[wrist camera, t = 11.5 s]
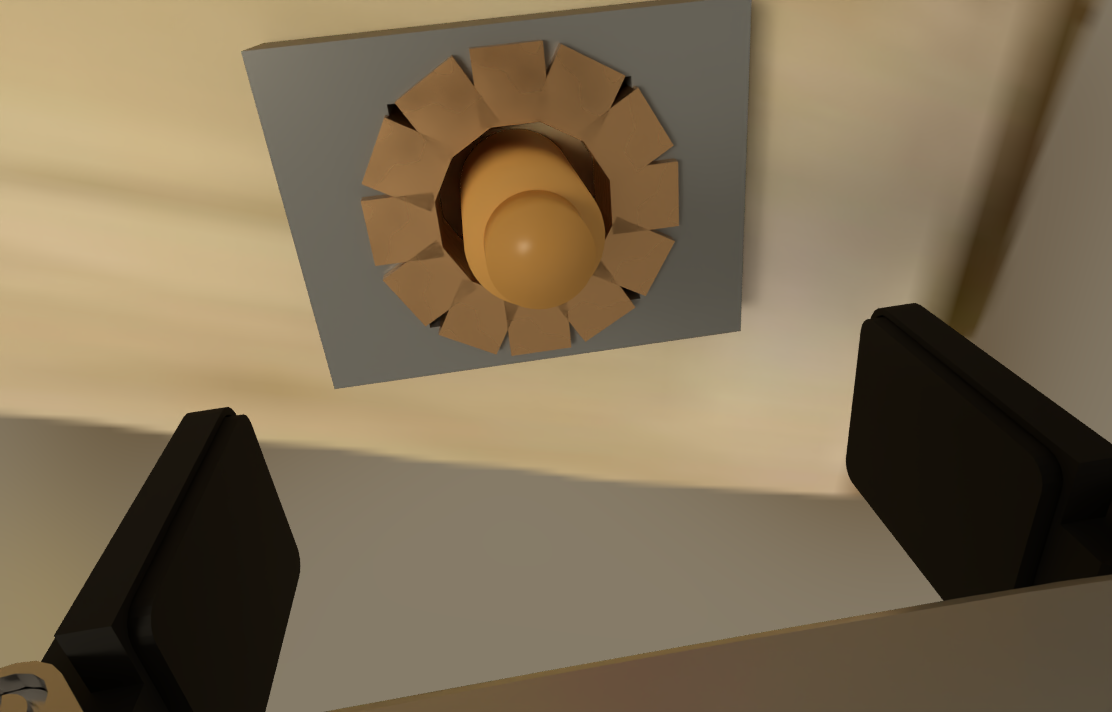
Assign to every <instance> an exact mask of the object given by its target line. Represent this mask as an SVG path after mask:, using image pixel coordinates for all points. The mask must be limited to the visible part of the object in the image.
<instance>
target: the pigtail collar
mask: <svg viewBox="0 0 1112 712" xmlns="http://www.w3.org/2000/svg"><path fill="white" fill-rule="evenodd" d="M469 53H470V60H471V67H472V74H473V82H474V84H473V83H472V81H471V80H470V79H469V77H468V76H467V75H466V73H465V72H464V70H463V69H462V68H461V66H460V65H459V64H458V62H457V61H456V60H455V58H454V57H453V55H451V56H450V57H448V58H447V59H446V60H445V61H443V62H442V63H441V64H440V65H439V66H437V67H436V68H435V69H434V70H432V71H431V72H430V73H429V74H427V75H426V76H425V77H424V78H422V79H421V80H420V81H419V82H417V83H416V84H415V85H414V86H413V87H411V88H410V89H409V90H408V91H406V92H405V93H404V94H403V95H401V96H400V97H399V98H398V99H396V100H395V104H394V106H393V108H392V110H391V113H390V115H389V116H387V115H385V117H384V120H383V123H382V125H381V128H380V131H379V134H378V137H377V140H376V143H375V146H374V149H373V152H372V155H371V158H370V161H369V164H368V166H367V169H366V172H365V175H364V178H363V181H362V185H365V186H367V187H370V188H372V189H375V190H377V191H380V192H383V193H385V194H384V195H376V196H368V197H362V199H361V205H362V210H363V214H364V219H365V223H366V227H367V232H368V236H369V241H370V245H371V250H372V254H373V259H374V263H375V266H379V265H387V264H395V263H399V264H398V265H397V266H395V267H394V268H393V269H391V270H390V271H389V272H387V273H386V274H385V275H384V277H383V281H384V282H385V283H386V284H387V285H388V286H389V288H390V289H391V290H392V291H393V292H394V293H395V294H396V295H397V296H398V297H399V298H400V299H401V300H402V302H403V303H404V304H405V305H406V306H407V307H408V308H409V309H410V310H411V311H412V312H413V313H414V315H415V316H416V317H417V318H418V319H419V320H420V321H421V322H422V323H423V324H424V325H425V326H427V325H428V324H430V323H431V322H433V321H434V320H435V319H437V318H438V317H439V316H440V327H439V335H440V336H443V337H446V338H449V339H452V340H455V341H458V342H461V343H464V344H467V345H470V346H473V347H476V348H479V349H481V350H484V351H487V352H490V353H493V354H496V355H497V352H498V350H499V348H500V346H501V344H502V342H503V339H504V337H505V335H506V333H507V331H508V335H509V342H510V350H511V356H515V355H522V354H529V353H536V352H543V351H550V350H557V349H564V348H571V338H570V327H569V322H570V323H571V325H572V326H573V327H574V328H575V330H576V331H577V332H578V333H579V335H580V336H581V337H582V338H583V340H584V341H585V342H586V341H588V340H589V339H590V338H592V337H593V336H595V335H596V334H598V333H599V332H601V331H602V330H603V329H605V328H606V327H608V326H609V325H611V324H612V323H614V322H615V321H617V320H618V319H619V318H621V317H622V316H624V315H625V314H627V313H628V312H630V311H631V310H632V309H634V308H635V306H634V304H633V302H632V301H631V299H630V297H629V296H628V294H627V292H626V290H625V288H626V289H629V290H632V291H634V292H637V293H639V294H642V295H644V296H646V295H647V293H648V291H649V289H650V287H651V285H652V283H653V282H654V280H655V278H656V276H657V274H658V272H659V270H660V268H661V267H662V265H663V263H664V261H665V259H666V257H667V255H668V254H669V252H670V250H671V248H672V246H673V244H674V242H675V241H674V239H673V238H672V237H671V236H668V235H666V234H663V233H661V232H659V231H656V230H654V229H660V228H667V227H675V226H679V186H678V161H677V160H676V159H675V158H672V159H664V160H656V161H653V160H655V159H656V158H657V157H659V156H660V155H661V154H663V153H664V152H666V151H667V150H668V149H670V148H671V147H672V146H674V145H673V143H672V142H671V140H670V139H669V137H668V135H667V134H666V132H665V130H664V129H663V127H662V126H661V124H660V122H659V121H658V119H657V117H656V116H655V114H654V112H653V111H652V109H651V108H650V106H649V104H648V103H647V101H646V99H645V98H644V96H643V94H642V93H641V91H640V90H639V88H638V87H636V86H633V87H630V86H628V85H627V84H625V83H623V80H624V78H625V75H623V74H621V73H619V72H617V71H615V70H613V69H611V68H609V67H607V66H605V65H603V64H601V63H599V62H597V61H595V60H593V59H591V58H589V57H587V56H585V55H583V54H581V53H579V52H577V51H575V50H573V49H571V48H569V47H567V46H565V45H563V44H561V43H559V44H558V46H557V48H556V51H555V53H554V56H553V58H552V60H551V63H550V65H549V68H548V70H547V72H546V68H545V57H544V46H543V40H532V41H523V42H514V43H505V44H496V45H487V46H478V47H469ZM533 122H542V123H544V124H546V125H548V126H550V127H553V128H555V129H557V130H559V131H561V132H564V133H566V134H568V135H570V136H572V137H575V138H577V139H579V140H581V142H582V143H583V145H584V146H585V148H586V149H587V151H588V152H589V153H590V155H591V156H592V161H593V176H594V191H595V199H594V200H595V202H596V203H597V205H598V207H599V209H600V212H601V214H602V218H603V221H604V227H605V244H604V250H603V254H602V258H601V260H600V262H599V265H598V267H597V268H596V270H595V272H594V274H593V275H592V276H591V278H590V279H589V281H588V283H587V284H586V286H585V287H584V288H583V289H582V291H581V292H580V293H579V294H578V295H576V296H575V297H574V298H573V299H571V300H569V301H568V302H566V303H564V304H562V305H559V306H556V307H553V308H548V309H530V308H525V307H521V306H519V305H516V304H513V303H510V302H507V301H504V300H502V299H500V298H498V297H496V296H495V295H493V294H492V293H490V292H489V291H488V290H487V289H485V288H484V287H483V286H482V285H481V284H480V283H479V281H478V280H477V279H476V277H475V276H474V274H473V272H472V271H471V269H470V267H469V264H468V262H467V259H466V255H465V250H464V242H463V241H462V240H461V238H460V237H459V236H458V235H457V234H456V232H455V231H454V230H453V229H452V228H451V226H450V225H449V224H448V223H447V221H446V220H445V219H444V218H443V212H442V206H441V201H440V195H439V190H440V187H441V185H442V182H443V180H444V177H445V174H446V172H447V169H448V167H449V164H450V161H451V159H452V157H454V156H455V155H456V154H457V153H459V152H460V151H461V150H463V149H464V148H465V147H466V146H468V145H469V144H470V143H472V142H473V141H474V140H475V139H477V138H478V137H479V136H481V135H482V134H483V133H484V132H486V131H487V130H488V129H490V128H491V127H500V126H508V125H517V124H525V123H533Z"/></svg>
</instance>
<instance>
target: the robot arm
mask: <svg viewBox="0 0 1112 712" xmlns="http://www.w3.org/2000/svg"><path fill="white" fill-rule="evenodd" d="M846 467H847V472H848V475H849V477H850V480H851V481H852V483H853V484H854V486H855V487H856V488H857V489H858V491H859V492H860V493H861V495H862V496H863V497H864V498H865V500H866V501H867V502H868V504H869V505H870V506H871V507H872V509H873V510H874V511H875V513H876V514H877V515H878V517H879V518H880V519H881V520H882V522H883V523H884V524H885V526H886V527H887V528H888V529H889V531H890V532H891V533H892V535H893V536H894V537H895V539H896V540H897V541H898V542H899V544H900V545H901V546H902V547H903V549H904V550H905V551H906V553H907V554H908V555H909V557H910V558H911V559H912V561H913V562H914V563H915V564H916V566H917V567H918V568H919V570H920V571H921V572H922V573H923V575H924V576H925V577H926V579H927V580H928V581H929V582H930V584H931V585H932V586H933V588H934V589H935V590H936V592H937V593H938V594H939V595H940V597H941V598H942V599H943V601H940V602H934V603H929V604H923V605H917V606H912V607H906V608H900V609H894V610H888V611H882V612H876V613H870V614H865V615H859V616H853V617H848V618H841V619H836V620H830V621H824V622H818V623H812V624H807V625H801V626H795V627H789V628H783V629H778V630H772V631H767V632H761V633H755V634H750V635H744V636H738V637H733V638H727V639H721V640H716V641H711V642H705V643H699V644H693V645H688V646H682V647H677V648H671V649H665V650H659V651H654V652H649V653H643V654H637V655H632V656H627V657H621V658H615V659H609V660H604V661H599V662H593V663H587V664H581V665H576V666H570V667H565V668H559V669H553V670H548V671H542V672H537V673H532V674H527V675H521V676H515V677H510V678H505V679H499V680H494V681H488V682H483V683H477V684H472V685H466V686H461V687H456V688H450V689H445V690H439V691H434V692H428V693H423V694H418V695H413V696H407V697H401V698H396V699H391V700H385V701H380V702H375V703H369V704H363V705H358V706H353V707H347V708H342V709H336V710H331V711H326V712H1112V444H1111V443H1110V442H1108V441H1107V440H1106V439H1104V438H1103V437H1101V436H1100V435H1098V434H1097V433H1096V432H1094V431H1093V430H1091V429H1090V428H1089V427H1088V426H1086V425H1085V424H1083V423H1082V422H1080V421H1079V420H1078V419H1077V418H1075V417H1074V416H1072V415H1071V414H1070V413H1068V412H1067V411H1065V410H1064V409H1063V408H1061V407H1060V406H1058V405H1057V404H1056V403H1054V402H1053V401H1052V400H1050V399H1049V398H1048V397H1046V396H1045V395H1044V394H1042V393H1041V392H1039V391H1038V390H1037V389H1035V388H1034V387H1032V386H1031V385H1030V384H1028V383H1027V382H1026V381H1024V380H1023V379H1021V378H1020V377H1019V376H1017V375H1016V374H1014V373H1013V372H1012V371H1010V370H1009V369H1008V368H1006V367H1005V366H1004V365H1002V364H1001V363H999V362H998V361H997V360H995V359H994V358H993V357H991V356H990V355H988V354H987V353H986V352H984V351H983V350H981V349H980V348H979V347H977V346H976V345H975V344H973V343H972V342H970V341H969V340H968V339H966V338H965V337H964V336H962V335H961V334H959V333H958V332H957V331H955V330H954V329H953V328H951V327H950V326H948V325H947V324H946V323H944V322H943V321H942V320H940V319H939V318H937V317H936V316H935V315H933V314H932V313H931V312H929V311H928V310H926V309H925V308H924V307H922V306H921V305H919V304H917V303H911V304H904V305H898V306H891V307H885V308H878V309H877V310H875V311H874V313H873V314H872V316H871V319H867V320H865V321H864V323H863V324H862V328H861V333H860V342H859V351H858V359H857V368H856V376H855V385H854V394H853V402H852V411H851V419H850V428H849V437H848V445H847V454H846ZM299 574H300V557H299V552H298V548H297V545H296V543H295V540H294V538H293V535H292V532H291V529H290V527H289V524H288V521H287V518H286V516H285V513H284V510H283V508H282V505H281V502H280V500H279V497H278V494H277V492H276V489H275V486H274V484H273V481H272V478H271V475H270V473H269V470H268V467H267V465H266V462H265V459H264V457H263V454H262V451H261V448H260V446H259V443H258V440H257V438H256V435H255V432H254V430H253V427H252V424H251V422H250V420H249V418H248V417H247V416H246V415H244V414H243V415H236V413H235V412H234V411H233V410H232V409H231V408H229V407H225V408H218V409H211V410H205V411H198V412H192V413H187V414H186V415H185V416H184V417H183V419H182V421H181V423H180V424H179V426H178V428H177V429H176V431H175V433H174V434H173V436H172V438H171V439H170V441H169V443H168V445H167V446H166V448H165V449H164V451H163V453H162V455H161V456H160V458H159V460H158V461H157V463H156V465H155V467H154V468H153V470H152V472H151V473H150V475H149V477H148V478H147V480H146V482H145V484H144V485H143V487H142V488H141V490H140V492H139V494H138V495H137V497H136V498H135V500H134V502H133V503H132V505H131V507H130V508H129V510H128V512H127V514H126V515H125V517H124V519H123V520H122V522H121V524H120V525H119V527H118V529H117V530H116V532H115V534H114V535H113V537H112V539H111V540H110V542H109V544H108V546H107V547H106V549H105V551H104V553H103V554H102V556H101V557H100V559H99V561H98V562H97V564H96V566H95V568H94V569H93V571H92V572H91V574H90V576H89V578H88V579H87V581H86V583H85V584H84V587H83V588H82V589H81V591H80V593H79V594H78V596H77V598H76V600H75V601H74V603H73V605H72V606H71V608H70V610H69V611H68V613H67V615H66V616H65V618H64V620H63V621H62V623H61V625H60V627H59V628H58V630H57V631H56V633H55V635H54V637H55V639H54V641H53V642H52V644H51V646H50V647H49V649H48V651H47V652H46V654H45V656H44V658H43V659H42V661H41V662H39V661H30V662H21V663H15V664H11V665H8V666H5V667H2V668H0V712H265V711H266V707H267V703H268V699H269V695H270V691H271V687H272V683H273V679H274V675H275V671H276V667H277V663H278V659H279V655H280V651H281V647H282V643H283V639H284V635H285V631H286V627H287V623H288V619H289V615H290V611H291V607H292V602H293V598H294V595H295V591H296V587H297V583H298V579H299Z"/></svg>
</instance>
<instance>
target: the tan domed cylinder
mask: <svg viewBox="0 0 1112 712" xmlns="http://www.w3.org/2000/svg"><path fill="white" fill-rule="evenodd" d="M460 200H461V213H462V226H463V238H464V250H465V255H466V259H467V262H468V264H469V267H470V269H471V271H472V272H473V274H474V276H475V277H476V279H477V280H478V281H479V283H480V284H481V285H482V286H483V287H484V288H485V289H487V290H488V291H489V292H490V293H492V294H493V295H495V296H496V297H498V298H500V299H502V300H504V301H507V302H510V303H513V304H516V305H519V306H521V307H525V308H530V309H548V308H553V307H556V306H559V305H562V304H564V303H566V302H568V301H569V300H571V299H573V298H574V297H575V296H576V295H578V294H579V293H580V292H581V291H582V289H583V288H584V287H585V286H586V284H587V283H588V281H589V279H590V278H591V276H592V275H593V274H594V272H595V270H596V268H597V267H598V265H599V262H600V260H601V258H602V254H603V250H604V244H605V227H604V221H603V218H602V214H601V212H600V209H599V207H598V205H597V203H596V202H595V200H594V198H593V197H592V195H591V194H590V192H589V191H588V189H587V188H586V187H585V185H584V184H583V182H582V181H581V179H580V178H579V176H578V175H577V173H576V172H575V170H574V169H573V167H572V166H571V164H570V163H569V161H568V160H567V158H566V157H565V155H564V154H563V152H562V151H561V150H560V149H559V148H558V146H557V145H555V144H554V143H553V142H552V141H551V140H549V139H548V138H547V137H545V136H543V135H541V134H539V133H536V132H533V131H529V130H524V129H509V130H504V131H500V132H497V133H495V134H493V135H491V136H489V137H487V138H485V139H484V140H483V141H481V142H480V143H479V144H478V145H477V146H476V147H475V148H474V149H473V150H472V151H471V153H470V154H469V156H468V157H467V159H466V161H465V163H464V165H463V168H462V171H461V176H460Z"/></svg>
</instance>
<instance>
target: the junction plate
mask: <svg viewBox="0 0 1112 712" xmlns="http://www.w3.org/2000/svg"><path fill="white" fill-rule="evenodd" d="M751 1H752V0H655V1H646V2H636V3H627V4H618V5H609V6H600V7H591V8H581V9H572V10H563V11H554V12H545V13H536V14H527V15H517V16H508V17H499V18H490V19H481V20H472V21H462V22H453V23H444V24H435V25H426V26H417V27H407V28H398V29H389V30H380V31H371V32H362V33H353V34H343V35H334V36H325V37H316V38H307V39H298V40H288V41H279V42H270V43H263V44H260V45H257V46H254V47H252V48H249V49H246V50H243V51H241V53H242V57H243V60H244V64H245V68H246V71H247V75H248V78H249V82H250V86H251V89H252V93H253V96H254V100H255V104H256V107H257V111H258V114H259V118H260V122H261V125H262V129H263V132H264V136H265V140H266V143H267V147H268V150H269V154H270V158H271V161H272V165H273V168H274V172H275V176H276V179H277V183H278V186H279V190H280V194H281V197H282V201H283V204H284V208H285V212H286V215H287V219H288V223H289V226H290V230H291V233H292V237H293V241H294V244H295V248H296V251H297V255H298V259H299V262H300V266H301V269H302V273H303V277H304V280H305V284H306V287H307V291H308V295H309V298H310V302H311V305H312V309H313V313H314V316H315V320H316V323H317V327H318V331H319V334H320V338H321V341H322V345H323V349H324V352H325V356H326V359H327V363H328V367H329V370H330V374H331V377H332V381H333V385H334V388H335V389H338V388H345V387H352V386H359V385H366V384H373V383H380V382H387V381H394V380H401V379H408V378H415V377H422V376H429V375H436V374H443V373H450V372H457V371H464V370H471V369H478V368H485V367H492V366H499V365H506V364H513V363H520V362H527V361H534V360H541V359H548V358H555V357H562V356H569V355H576V354H583V353H590V352H597V351H604V350H611V349H618V348H625V347H632V346H639V345H645V344H652V343H659V342H666V341H673V340H680V339H687V338H694V337H701V336H708V335H715V334H722V333H729V332H736V331H741V302H742V272H743V242H744V212H745V182H746V152H747V122H748V92H749V61H750V31H751ZM532 40H543V46H544V57H545V68H546V72H547V70H548V68H549V65H550V63H551V60H552V58H553V56H554V53H555V51H556V48H557V46H558V44H559V43H561V44H563V45H565V46H567V47H569V48H571V49H573V50H575V51H577V52H579V53H581V54H583V55H585V56H587V57H589V58H591V59H593V60H595V61H597V62H599V63H601V64H603V65H605V66H607V67H609V68H611V69H613V70H615V71H617V72H619V73H621V74H623V75H625V78H624V80H623V83H625V84H627V85H628V86H630V87H633V86H636V87H638V88H639V90H640V91H641V93H642V94H643V96H644V98H645V99H646V101H647V103H648V104H649V106H650V108H651V109H652V111H653V112H654V114H655V116H656V117H657V119H658V121H659V122H660V124H661V126H662V127H663V129H664V130H665V132H666V134H667V135H668V137H669V139H670V140H671V142H672V143H673V145H674V146H672V147H671V148H670V149H668V150H667V151H666V152H664V153H663V154H661V155H660V156H659V157H657V158H656V159H655V160H653V161H656V160H664V159H672V158H675V159H676V160H677V161H678V186H679V226H675V227H667V228H660V229H654V230H656V231H659V232H661V233H663V234H666V235H668V236H671V237H672V238H673V239H674V241H675V242H674V244H673V246H672V248H671V250H670V252H669V254H668V255H667V257H666V259H665V261H664V263H663V265H662V267H661V268H660V270H659V272H658V274H657V276H656V278H655V280H654V282H653V283H652V285H651V287H650V289H649V291H648V293H647V295H646V296H644V295H642V294H639V293H637V292H634V291H632V290H629V289H626V288H625V290H626V292H627V294H628V296H629V297H630V299H631V301H632V302H633V304H634V306H635V308H634V309H632V310H631V311H630V312H628V313H627V314H625V315H624V316H622V317H621V318H619V319H618V320H617V321H615V322H614V323H612V324H611V325H609V326H608V327H606V328H605V329H603V330H602V331H601V332H599V333H598V334H596V335H595V336H593V337H592V338H590V339H589V340H588V341H586V342H585V341H584V340H583V338H582V337H581V336H580V335H579V333H578V332H577V331H576V330H575V328H574V327H573V326H572V325H571V323H570V322H569V327H570V338H571V348H564V349H557V350H550V351H543V352H536V353H529V354H522V355H515V356H511V350H510V342H509V335H508V331H507V333H506V335H505V337H504V339H503V342H502V344H501V346H500V348H499V350H498V352H497V355H496V354H493V353H490V352H487V351H484V350H481V349H479V348H476V347H473V346H470V345H467V344H464V343H461V342H458V341H455V340H452V339H449V338H446V337H443V336H440V335H439V327H440V316H439V317H438V318H437V319H435V320H434V321H433V322H431V323H430V324H428V325H427V326H425V325H424V324H423V323H422V322H421V321H420V320H419V319H418V318H417V317H416V316H415V315H414V313H413V312H412V311H411V310H410V309H409V308H408V307H407V306H406V305H405V304H404V303H403V302H402V300H401V299H400V298H399V297H398V296H397V295H396V294H395V293H394V292H393V291H392V290H391V289H390V288H389V286H388V285H387V284H386V283H385V282H384V281H383V277H384V275H385V274H386V273H387V272H389V271H390V270H391V269H393V268H394V267H395V266H397V265H398V264H399V263H395V264H387V265H379V266H375V263H374V259H373V254H372V250H371V245H370V241H369V236H368V232H367V227H366V223H365V219H364V214H363V210H362V205H361V199H362V197H368V196H376V195H384V194H385V193H383V192H380V191H377V190H375V189H372V188H370V187H367V186H365V185H362V181H363V178H364V175H365V172H366V169H367V166H368V164H369V161H370V158H371V155H372V152H373V149H374V146H375V143H376V140H377V137H378V134H379V131H380V128H381V125H382V123H383V120H384V117H385V115H387V116H389V115H390V113H391V110H392V108H393V106H394V104H395V100H396V99H398V98H399V97H400V96H401V95H403V94H404V93H405V92H406V91H408V90H409V89H410V88H411V87H413V86H414V85H415V84H416V83H417V82H419V81H420V80H421V79H422V78H424V77H425V76H426V75H427V74H429V73H430V72H431V71H432V70H434V69H435V68H436V67H437V66H439V65H440V64H441V63H442V62H443V61H445V60H446V59H447V58H448V57H450V56H451V55H453V57H454V58H455V60H456V61H457V62H458V64H459V65H460V66H461V68H462V69H463V70H464V72H465V73H466V75H467V76H468V77H469V79H470V80H471V81H472V83H473V84H474V82H473V74H472V67H471V60H470V53H469V47H478V46H487V45H496V44H505V43H514V42H523V41H532Z"/></svg>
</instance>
